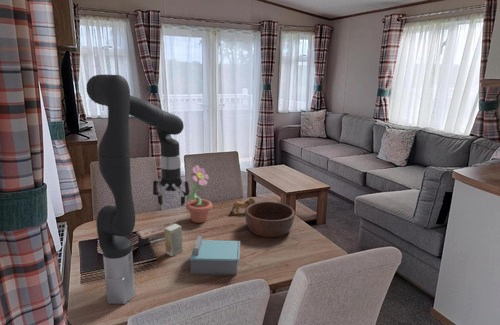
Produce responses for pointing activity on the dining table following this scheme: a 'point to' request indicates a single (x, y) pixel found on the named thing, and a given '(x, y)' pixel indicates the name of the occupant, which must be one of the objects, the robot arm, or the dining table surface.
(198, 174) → the decorative flower
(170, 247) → the skincare box
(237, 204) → the lion figurine
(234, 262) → the mailer box
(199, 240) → the lid
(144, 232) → the packaged product
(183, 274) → the dining table surface
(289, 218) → the wooden bowl
